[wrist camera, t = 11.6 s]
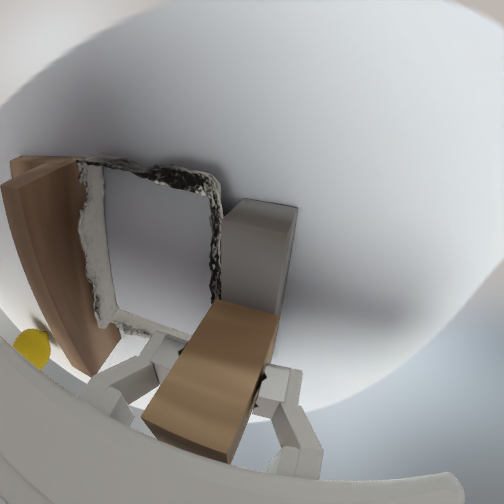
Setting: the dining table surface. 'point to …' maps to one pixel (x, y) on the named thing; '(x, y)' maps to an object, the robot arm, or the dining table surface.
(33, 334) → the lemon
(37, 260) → the stop bar
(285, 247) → the oak pusher
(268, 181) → the dining table surface
